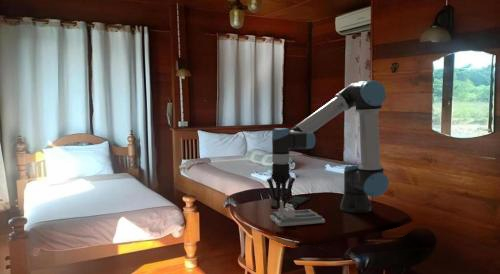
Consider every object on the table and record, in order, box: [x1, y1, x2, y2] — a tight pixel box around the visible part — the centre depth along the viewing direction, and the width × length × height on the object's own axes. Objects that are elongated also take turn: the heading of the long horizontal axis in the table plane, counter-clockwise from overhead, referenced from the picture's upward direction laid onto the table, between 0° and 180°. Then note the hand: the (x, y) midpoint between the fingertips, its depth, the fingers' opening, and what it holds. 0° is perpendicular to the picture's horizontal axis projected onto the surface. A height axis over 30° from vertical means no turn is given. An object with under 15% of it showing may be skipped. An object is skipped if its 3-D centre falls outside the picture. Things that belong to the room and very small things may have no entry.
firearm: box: [270, 196, 311, 210], centre depth 220 cm, size 28×2×15 cm
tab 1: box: [283, 202, 293, 214], centre depth 190 cm, size 4×3×6 cm
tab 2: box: [284, 207, 296, 219], centre depth 183 cm, size 4×3×6 cm
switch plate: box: [269, 209, 326, 227], centre depth 188 cm, size 22×13×3 cm, turn 105°
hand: (280, 215), depth 182 cm, fingers closed
